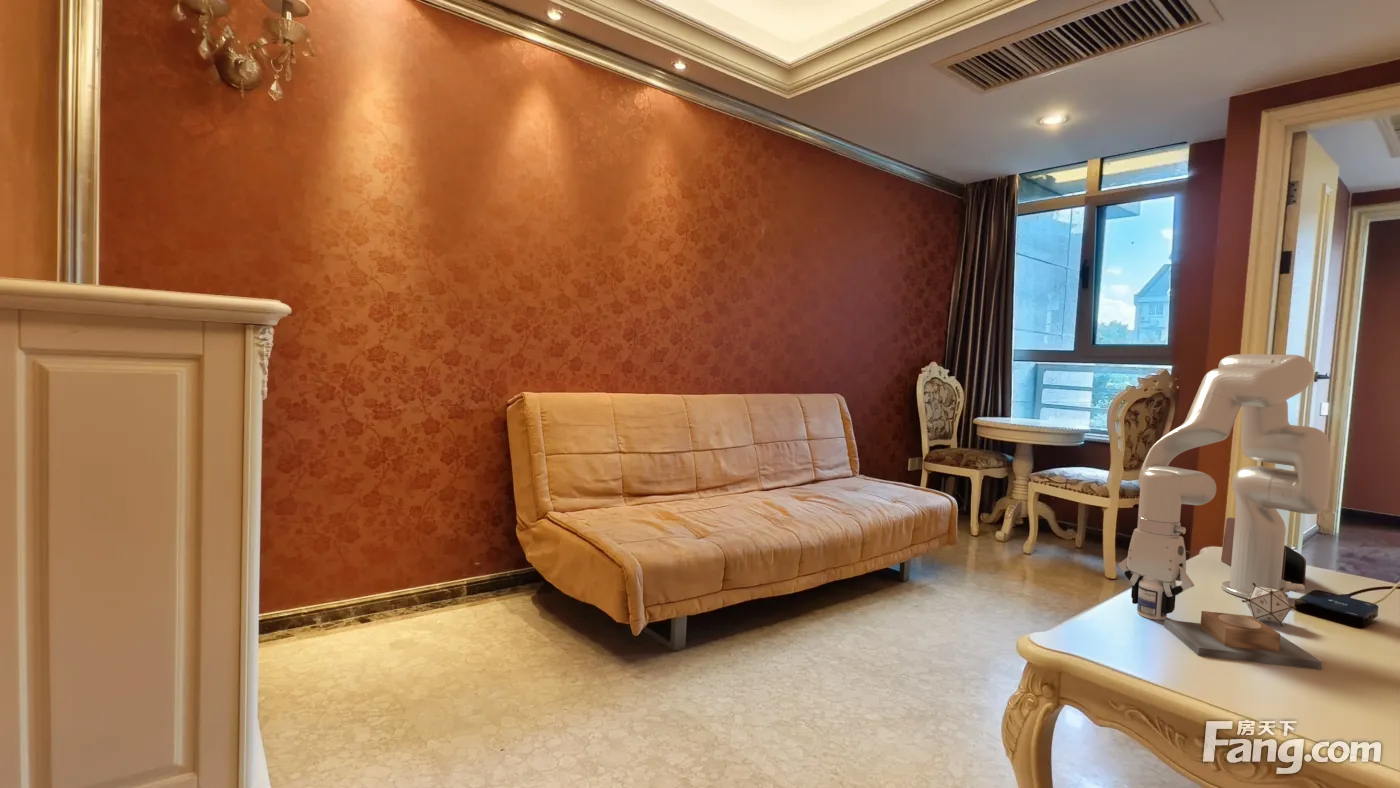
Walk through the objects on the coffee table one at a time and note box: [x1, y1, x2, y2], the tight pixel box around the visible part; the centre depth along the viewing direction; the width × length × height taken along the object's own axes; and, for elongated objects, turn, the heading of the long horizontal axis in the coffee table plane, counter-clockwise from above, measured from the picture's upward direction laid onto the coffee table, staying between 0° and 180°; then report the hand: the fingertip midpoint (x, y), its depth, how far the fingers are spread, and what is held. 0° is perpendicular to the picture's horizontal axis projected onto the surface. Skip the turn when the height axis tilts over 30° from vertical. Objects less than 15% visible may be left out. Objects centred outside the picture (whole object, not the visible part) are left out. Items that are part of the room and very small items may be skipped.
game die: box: [1241, 583, 1297, 628], centre depth 144 cm, size 9×8×10 cm
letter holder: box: [1220, 517, 1307, 587], centre depth 178 cm, size 10×20×14 cm, turn 165°
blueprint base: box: [1163, 610, 1323, 671], centre depth 130 cm, size 20×14×5 cm
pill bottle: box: [1136, 576, 1168, 621], centre depth 145 cm, size 5×5×10 cm
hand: (1152, 606), depth 145 cm, fingers closed on pill bottle, 5 cm apart
